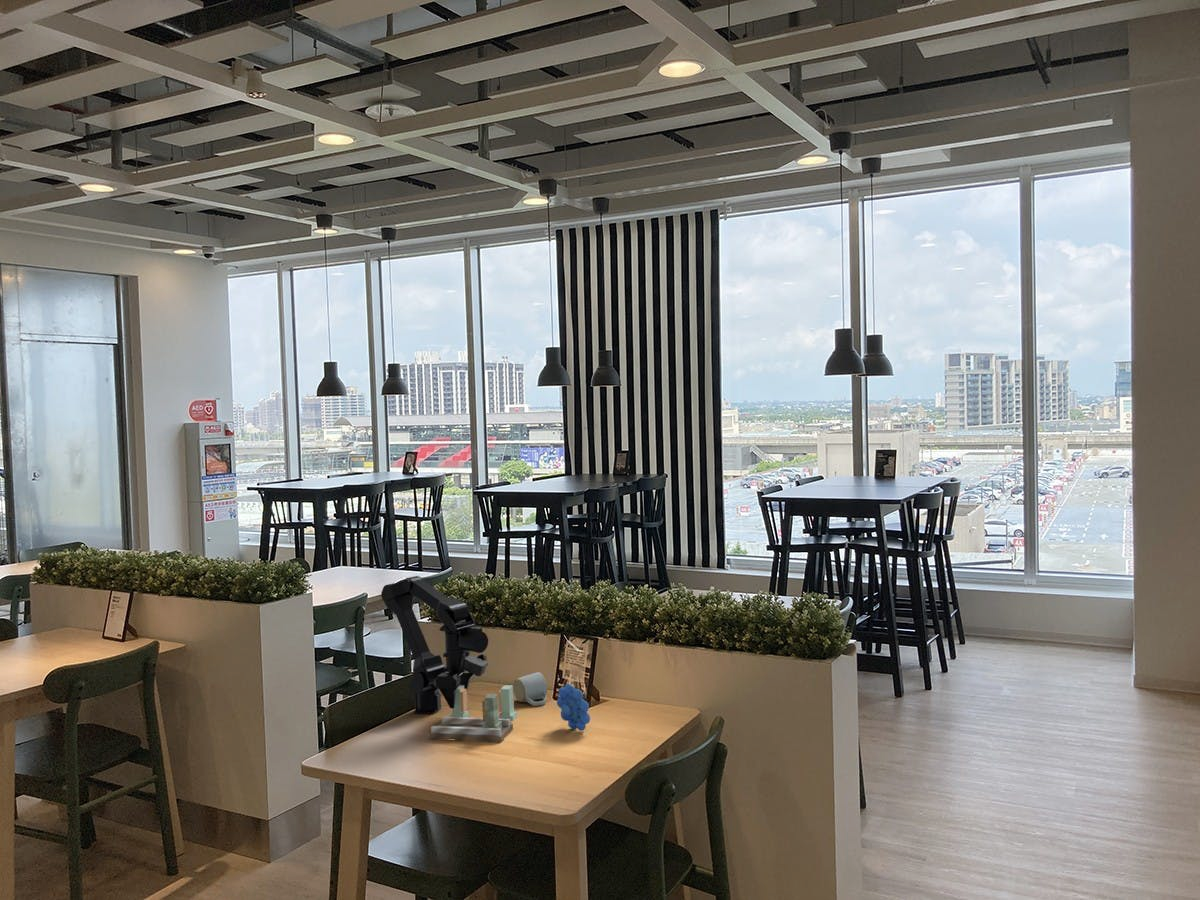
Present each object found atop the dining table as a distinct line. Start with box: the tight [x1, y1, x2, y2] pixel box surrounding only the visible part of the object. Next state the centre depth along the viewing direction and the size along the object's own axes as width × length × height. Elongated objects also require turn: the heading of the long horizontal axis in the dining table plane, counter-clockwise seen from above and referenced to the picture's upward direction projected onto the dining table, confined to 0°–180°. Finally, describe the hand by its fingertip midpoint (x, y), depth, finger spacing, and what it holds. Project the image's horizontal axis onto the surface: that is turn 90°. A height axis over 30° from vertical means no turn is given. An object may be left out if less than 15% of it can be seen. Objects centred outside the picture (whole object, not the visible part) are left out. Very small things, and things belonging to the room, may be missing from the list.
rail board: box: [428, 693, 514, 743], centre depth 257 cm, size 20×10×10 cm, turn 77°
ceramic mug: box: [512, 671, 548, 707], centre depth 284 cm, size 11×8×8 cm
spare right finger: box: [497, 684, 518, 722], centre depth 268 cm, size 4×4×9 cm
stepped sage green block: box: [449, 685, 469, 717], centre depth 271 cm, size 4×4×9 cm
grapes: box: [556, 683, 591, 732], centre depth 257 cm, size 12×7×12 cm, turn 46°
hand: (458, 703), depth 271 cm, fingers open, 9 cm apart
